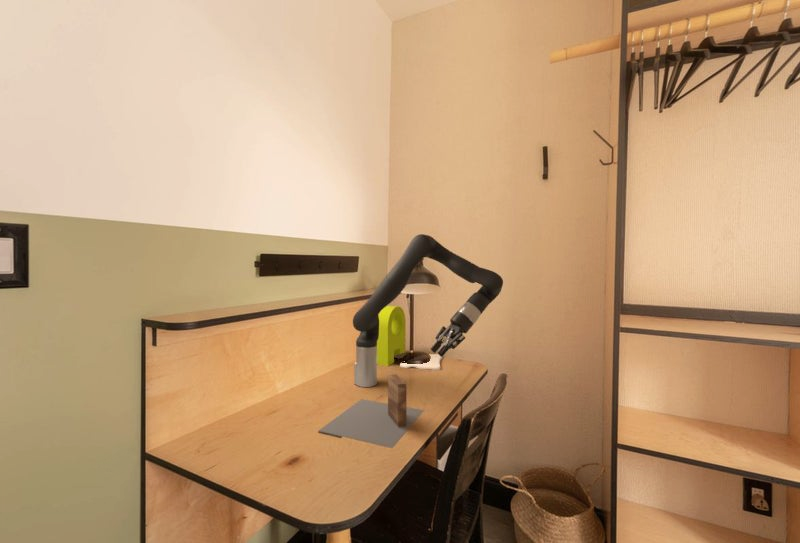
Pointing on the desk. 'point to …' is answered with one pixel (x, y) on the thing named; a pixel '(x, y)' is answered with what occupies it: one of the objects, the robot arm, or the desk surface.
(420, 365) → the flat white fragment
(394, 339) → the decorative object
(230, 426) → the desk surface
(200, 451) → the desk surface
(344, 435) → the desk mat
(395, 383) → the walnut picture frame
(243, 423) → the desk surface
